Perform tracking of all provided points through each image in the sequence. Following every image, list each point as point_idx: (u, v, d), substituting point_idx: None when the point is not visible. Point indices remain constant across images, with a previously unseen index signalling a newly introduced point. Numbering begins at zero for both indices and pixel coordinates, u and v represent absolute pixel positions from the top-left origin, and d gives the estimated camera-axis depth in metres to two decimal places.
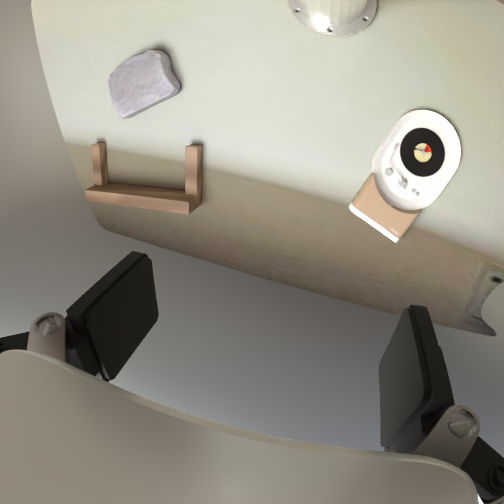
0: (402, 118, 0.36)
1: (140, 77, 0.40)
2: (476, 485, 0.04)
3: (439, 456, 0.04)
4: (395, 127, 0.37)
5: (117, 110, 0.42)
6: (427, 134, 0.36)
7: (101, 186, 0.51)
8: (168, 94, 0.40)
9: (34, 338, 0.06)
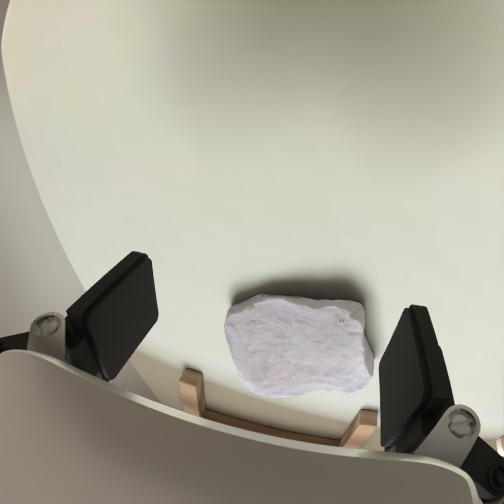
0: None
1: (310, 356, 0.22)
2: (476, 485, 0.04)
3: (439, 456, 0.04)
4: None
5: (250, 387, 0.25)
6: None
7: None
8: None
9: (34, 338, 0.06)
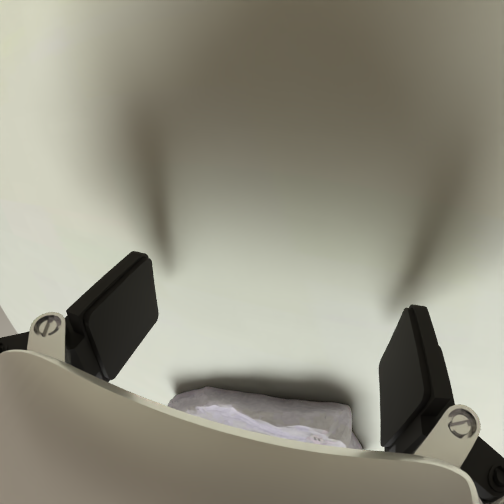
0: None
1: None
2: (476, 485, 0.04)
3: (439, 456, 0.04)
4: None
5: None
6: None
7: None
8: None
9: (34, 338, 0.06)
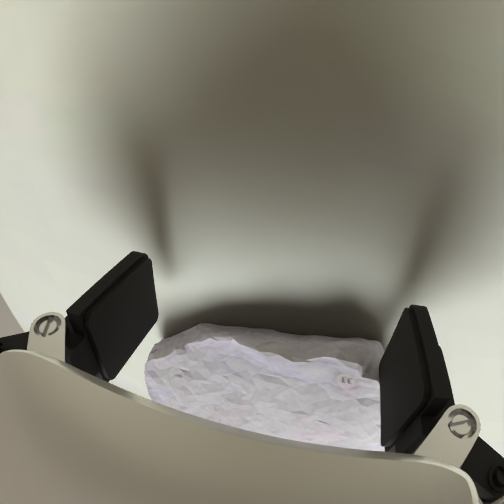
0: None
1: (288, 432, 0.12)
2: (476, 485, 0.04)
3: (439, 456, 0.04)
4: None
5: None
6: None
7: None
8: None
9: (34, 338, 0.06)
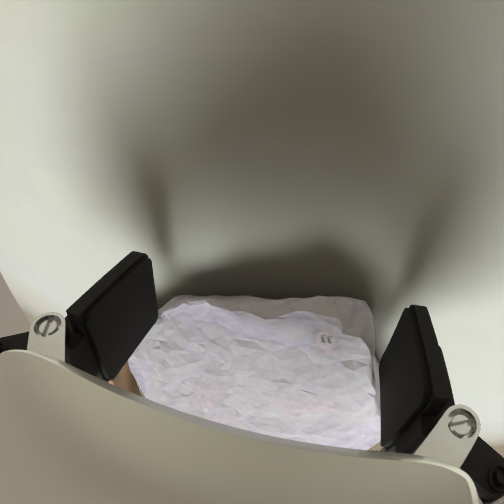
0: None
1: (273, 406, 0.11)
2: (476, 485, 0.04)
3: (439, 456, 0.04)
4: None
5: None
6: None
7: None
8: None
9: (34, 338, 0.06)
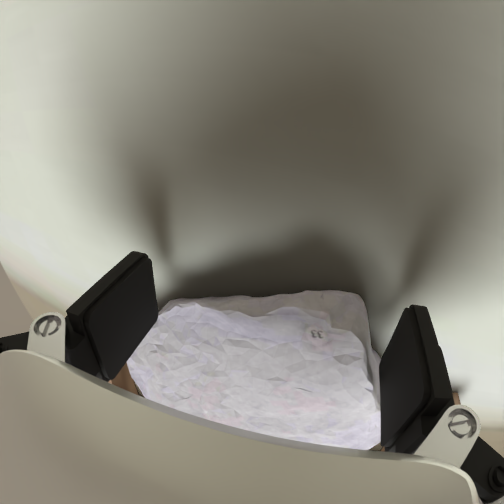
0: None
1: (270, 405, 0.11)
2: (476, 485, 0.04)
3: (439, 456, 0.04)
4: None
5: None
6: None
7: None
8: None
9: (34, 338, 0.06)
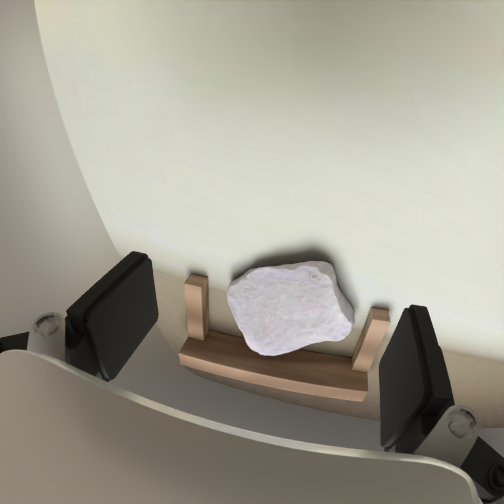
0: None
1: (296, 311, 0.29)
2: (476, 485, 0.04)
3: (439, 456, 0.04)
4: None
5: (255, 348, 0.32)
6: None
7: (203, 343, 0.35)
8: (345, 336, 0.29)
9: (34, 338, 0.06)
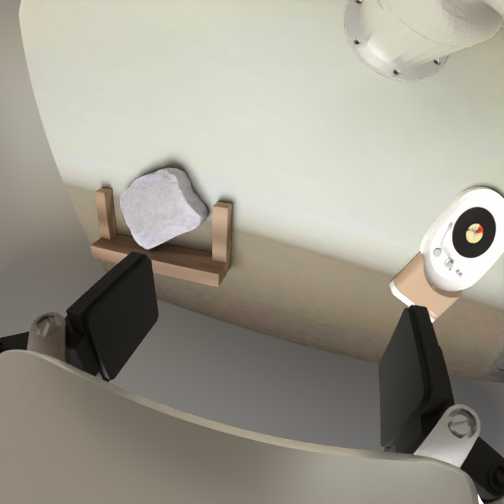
0: (462, 197, 0.31)
1: (158, 205, 0.39)
2: (476, 485, 0.04)
3: (439, 456, 0.04)
4: (453, 206, 0.31)
5: (139, 242, 0.42)
6: (483, 214, 0.31)
7: (109, 241, 0.45)
8: (196, 226, 0.40)
9: (34, 338, 0.06)
